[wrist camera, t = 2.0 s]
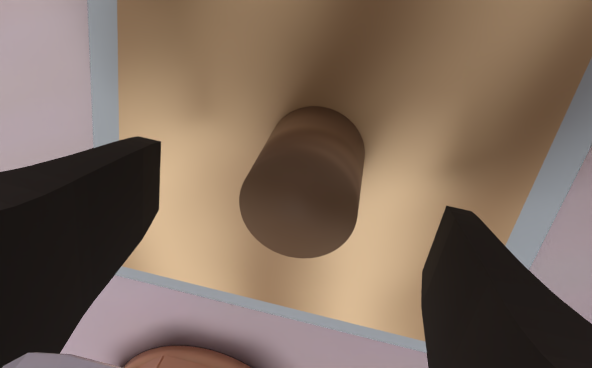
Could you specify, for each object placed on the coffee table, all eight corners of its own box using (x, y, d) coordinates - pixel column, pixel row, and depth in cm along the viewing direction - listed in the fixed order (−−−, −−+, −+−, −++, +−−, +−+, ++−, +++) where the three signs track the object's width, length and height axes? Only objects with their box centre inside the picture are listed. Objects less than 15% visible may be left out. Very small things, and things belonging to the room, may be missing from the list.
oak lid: (615, -35, 13) (716, -16, 9) (454, 329, 19) (470, 436, 15) (133, -125, 14) (26, -145, 10) (132, 250, 20) (68, 331, 16)
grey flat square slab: (701, -90, 12) (709, -91, 12) (478, 358, 20) (480, 366, 20) (86, -199, 13) (78, -202, 13) (103, 265, 21) (98, 271, 21)
